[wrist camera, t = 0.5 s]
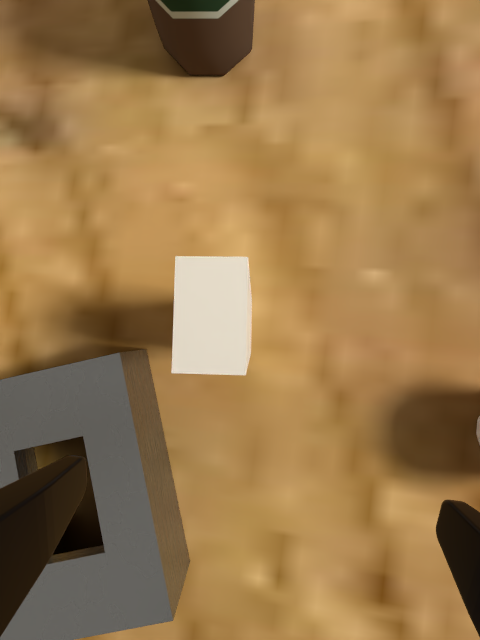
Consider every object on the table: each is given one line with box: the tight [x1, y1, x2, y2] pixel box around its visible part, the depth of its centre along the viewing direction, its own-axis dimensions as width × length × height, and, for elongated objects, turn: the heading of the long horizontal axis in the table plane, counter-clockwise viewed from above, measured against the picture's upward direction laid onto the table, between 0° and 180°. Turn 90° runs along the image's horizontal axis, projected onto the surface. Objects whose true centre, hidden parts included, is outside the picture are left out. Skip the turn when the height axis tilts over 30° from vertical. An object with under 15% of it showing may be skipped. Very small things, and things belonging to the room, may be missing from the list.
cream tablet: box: [172, 256, 252, 375], centre depth 16 cm, size 4×2×12 cm, turn 179°
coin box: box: [0, 349, 190, 640], centre depth 20 cm, size 16×11×4 cm
